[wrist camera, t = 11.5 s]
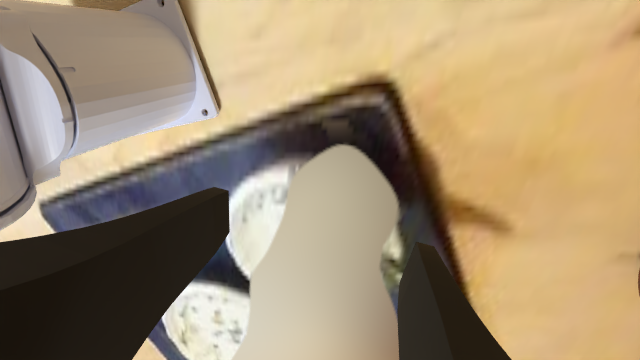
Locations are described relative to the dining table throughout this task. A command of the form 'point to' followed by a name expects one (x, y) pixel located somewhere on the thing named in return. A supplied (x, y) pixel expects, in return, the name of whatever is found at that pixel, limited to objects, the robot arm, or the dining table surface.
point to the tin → (639, 282)
